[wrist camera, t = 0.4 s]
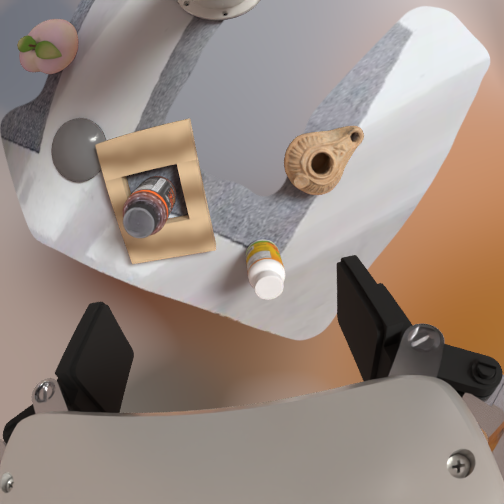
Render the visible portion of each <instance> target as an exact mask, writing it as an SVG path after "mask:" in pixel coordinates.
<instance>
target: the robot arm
mask: <svg viewBox="0 0 504 504" xmlns="http://www.w3.org/2000/svg"><path fill="white" fill-rule="evenodd" d="M259 1H260V0H177V2H178V3H179V4H180V6H181V7H182V8H183V9H184V10H185V11H187V12H188V13H190V14H192V15H193V16H196V17H199V18H202V19H207V20H227V19H231V18H235V17H238V16H241V15H243V14H245V13H247V12H248V11H250V10H252V9H253V8H254V7H255V6H256V5H257V4H258V3H259ZM186 4H189V5H188V6H186ZM223 14H227V15H226V16H223ZM337 317H338V322H339V325H340V327H341V329H342V332H343V334H344V336H345V338H346V340H347V343H348V345H349V348H350V350H351V352H352V354H353V357H354V359H355V362H356V364H357V366H358V369H359V371H360V373H361V376H362V378H363V380H364V382H360V383H355V384H350V385H346V386H343V387H338V388H334V389H330V390H325V391H321V392H316V393H311V394H306V395H301V396H296V397H291V398H286V399H281V400H275V401H269V402H262V403H257V404H249V405H242V406H234V407H226V408H216V409H206V410H194V411H179V412H158V413H119V412H120V408H121V403H122V400H123V395H124V392H125V388H126V383H127V380H128V376H129V372H130V368H131V365H132V361H133V357H134V353H133V350H132V348H131V346H130V344H129V342H128V341H127V339H126V337H125V336H124V334H123V332H122V330H121V328H120V327H119V325H118V323H117V321H116V319H115V317H114V315H113V314H112V312H111V310H110V308H109V306H108V305H106V304H104V303H103V302H96V303H91V304H89V306H88V308H87V309H86V311H85V313H84V315H83V317H82V319H81V321H80V323H79V324H78V326H77V328H76V330H75V332H74V334H73V336H72V338H71V340H70V342H69V344H68V346H67V348H66V350H65V352H64V354H63V356H62V359H61V361H60V363H59V365H58V367H57V369H56V372H55V374H56V375H57V377H58V379H57V381H56V380H55V379H52V378H48V379H45V380H43V381H41V382H40V383H39V384H37V386H36V387H35V388H34V390H33V393H32V402H33V404H32V405H31V406H30V407H28V408H27V409H25V410H24V411H23V412H21V413H20V414H19V415H17V416H16V417H14V418H13V419H12V420H10V421H9V422H8V423H7V424H6V426H5V428H4V431H3V439H4V441H2V440H0V504H504V375H503V374H502V369H501V366H500V365H499V363H498V362H497V361H496V360H495V359H493V358H491V357H489V356H486V355H482V354H478V353H474V352H471V351H467V350H464V349H461V348H457V347H453V346H450V345H447V344H444V337H443V334H442V333H441V332H440V331H439V329H437V328H436V327H434V326H432V325H428V324H415V325H412V324H411V322H410V321H409V320H408V318H407V317H406V315H405V314H404V312H403V311H402V310H401V308H400V307H399V305H398V304H397V302H396V301H395V300H394V298H393V297H392V295H391V294H390V293H389V291H388V290H387V289H386V287H385V286H384V285H383V284H381V283H379V284H377V283H376V282H375V280H374V279H373V277H372V276H371V275H370V273H369V272H368V270H367V269H366V268H365V266H364V265H363V264H362V262H361V261H360V260H359V258H358V257H357V256H356V255H353V256H348V257H344V258H341V262H338V263H337ZM477 422H478V423H477ZM480 428H482V429H483V430H484V431H485V432H486V434H487V436H488V443H487V440H486V438H485V436H484V434H483V432H482V431H481V429H480Z"/></svg>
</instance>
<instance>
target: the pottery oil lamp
mask: <svg viewBox="0 0 504 504" xmlns="http://www.w3.org/2000/svg"><path fill="white" fill-rule="evenodd" d="M363 137H364V133H363V131H362V130H361V128H359V127H357V126H346V127H342V128H337V129H334V130H330V131H322V132H312V133H306V134H302V135H300V136H297V137H296V138H295V139H294V140H293V141H292V142H291V143H290V145H289V147H288V148H287V150H286V153H285V158H284V167H285V172H286V174H287V176H288V178H289V180H290V181H291V183H292V184H293V185H294V186H295V187H297V188H298V189H299V190H301V191H303V192H305V193H307V194H311V195H322V194H325V193H328V192H330V191H331V190H332V189H333V188H334V187H335V186H336V185H337V183H338V182H339V181H340V179H341V176H342V174H343V171H344V168H345V166H346V164H347V162H348V160H349V159H350V157H351V156H352V154H353V152H354V151H355V149H356V148H357V147H358V146H359V144H360V143H361V142H362V140H363ZM312 169H314V170H312Z"/></svg>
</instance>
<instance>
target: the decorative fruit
mask: <svg viewBox="0 0 504 504" xmlns="http://www.w3.org/2000/svg"><path fill="white" fill-rule="evenodd" d="M17 46H18V49H19V51H20V63H21V65H22V66H23V68H24V69H25V70H27V71H29V72H40V71H41V72H43V73H46V74H53V73H57V72H59V71H61V70H63V69H64V68H66V67H67V66H68V65H69V64H70V63H71V62H72V61H73V59H74V58H75V56H76V53H77V50H78V35H77V32H76V30H75V28H74V26H73V25H72V24H71V23H69V22H68V21H66V20H62V19H51V20H47V21H44V22H42V23H40V24H39V25H37V26H36V27H35V28H33V29H32V30H31V32H30V33H29V35H28V36H24V37H23V38H21V39H20V40H19V42H18V45H17Z"/></svg>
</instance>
